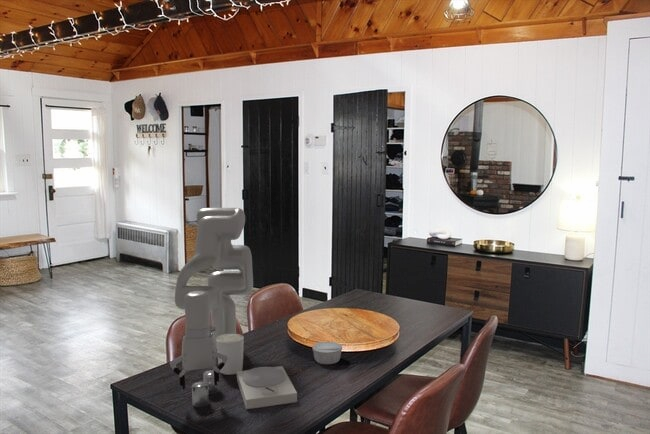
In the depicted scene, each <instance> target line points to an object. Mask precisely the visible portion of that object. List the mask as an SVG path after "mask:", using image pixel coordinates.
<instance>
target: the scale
mask: <svg viewBox="0 0 650 434" xmlns="http://www.w3.org/2000/svg"><path fill="white" fill-rule="evenodd" d="M236 382H237V384H238V387H239V391H240V394H241V397H242V401H243V404H244V407H245V410H250V409H258V408H265V407H271V406H272V407H273V406H278V405H285V404H287V405H288V404H293V403H297V402H298V392H297V390H296V389H295V386H294V384H293V383H292V380H291V379H290V377H289V376H288V374H287V372H286V370H285V369H284V366H282V365H280V366H257V367H253V368H250V369H246V370H242V371H237V374H236Z"/></svg>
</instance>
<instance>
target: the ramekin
mask: <svg viewBox="0 0 650 434" xmlns="http://www.w3.org/2000/svg"><path fill="white" fill-rule="evenodd" d="M342 350H343V346H342V345H341V344H340V343H339V342H336V341H335V342H334V341H318V342H316V343H315V344H313V346H312V352H313V357H314V360H315V361H316V362H317V363H318V364H321V365H333V364H336V363H338V362H339V361H340V359H341V355H342Z"/></svg>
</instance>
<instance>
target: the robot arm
mask: <svg viewBox="0 0 650 434" xmlns="http://www.w3.org/2000/svg"><path fill="white" fill-rule="evenodd" d="M196 220H197V230H196V237H195V247H194V252H193V253H194V254H193V257H191V258H190V259H189V260H188V261H187V262H186V263H185V264H184V265H183V267H182V268H181V269H180V271H179V273H178V275H177V279H176V283H175V290H174V291H175V292H174V303H175V306H176V307H177V309H180V310H183V311H184V313H185V314H184V316H185V317H184V318H185V319H184V320H185V325H184V326H185V335H183V337H182V343H181V344H182V345H181V355H180V356H178V357H176V358H174V359H172V360H171V361H169V366H170V368H171V369H172V370H173V372H174V373H175V374H177V375H178V377H179V386H180V387H181V388H182V390H185V389H186V378H185V377H186V376H185V374H186V373H187V372H188V371H194V370H195V371H196V370H203V369H204V370H205V369H211V368H212V370H214V384H215V386H216V385H217V382H218V381H219V382H220V370H221V369H222V368H223V367H224V365H225V363H226V361H227V359H228V358H227V356H226V355H223V354H220V353H218V352H217V342H216V338H217V337H218V336H220V335H224V334H232V333H233V334H237V320H236V317H237V313H236V312H237V311H236V308H237V307H236V304H235V301H234V300H233V298H232V297H231V296H245V295H246V296H247V295H249V294H251V293H252V291H253V289H254V288H253V287H254V273H253V272H254V271H253V257H252V252H251V249H250V247H249V246H247V245H245V244H237V245H236V244H232V241H235V240H238V239H239V238H240V236H241V234H242V232H243V229H244V227H245V223H246V214H245V211H244V209H242V208H241V207H203V208H200V209H199V210H198V211H197V212H196ZM209 267H211V268H212V269H214V270H217V271H213V272H211V273H210V275H209V276H208V278H207V285H188V282H189V280H191V278H192V276H194V275H195V274H196V273H198V272H200V271H203V270H205V269H208V268H209ZM218 358H220V359H222V361H221V362H220V363H219V364H218V363H217V359H218ZM179 363H181V365H182V367H181V368H179V367H178V366H177V365H178V364H179Z"/></svg>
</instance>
